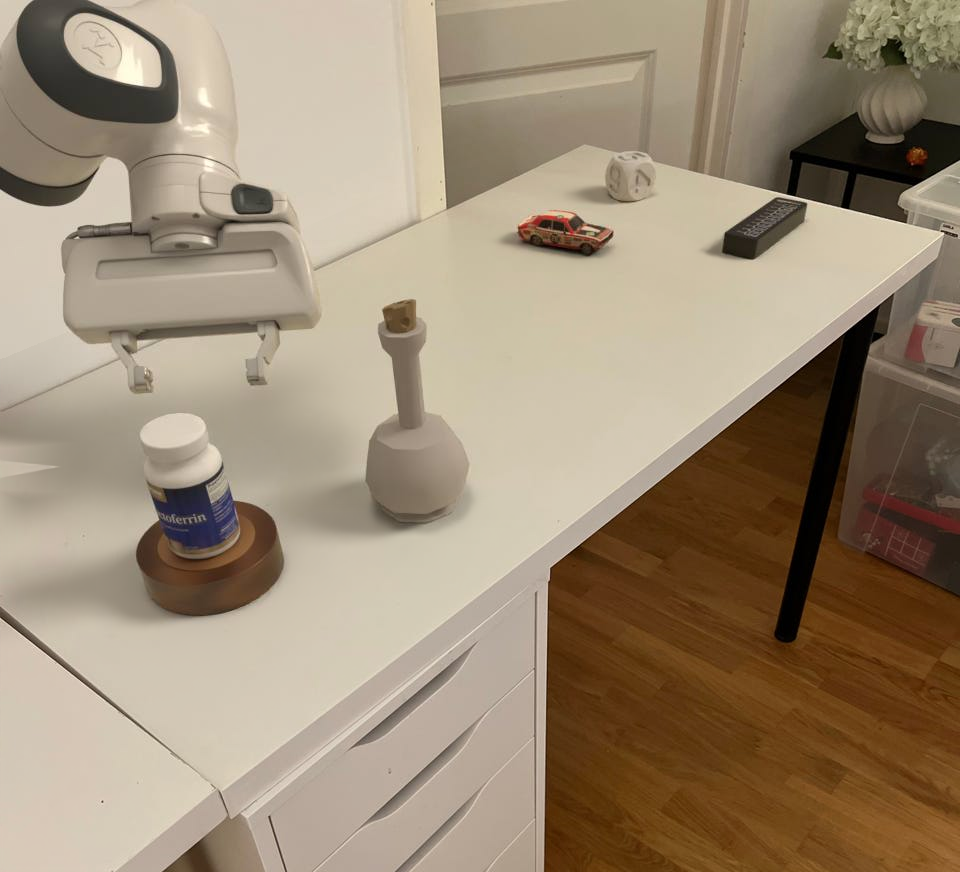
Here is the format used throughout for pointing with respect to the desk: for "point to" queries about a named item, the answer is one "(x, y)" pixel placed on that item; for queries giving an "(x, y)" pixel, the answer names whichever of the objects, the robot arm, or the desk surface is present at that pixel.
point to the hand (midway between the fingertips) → (199, 387)
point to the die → (630, 176)
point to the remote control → (764, 227)
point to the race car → (564, 231)
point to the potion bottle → (412, 434)
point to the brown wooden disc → (213, 567)
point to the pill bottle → (189, 486)
